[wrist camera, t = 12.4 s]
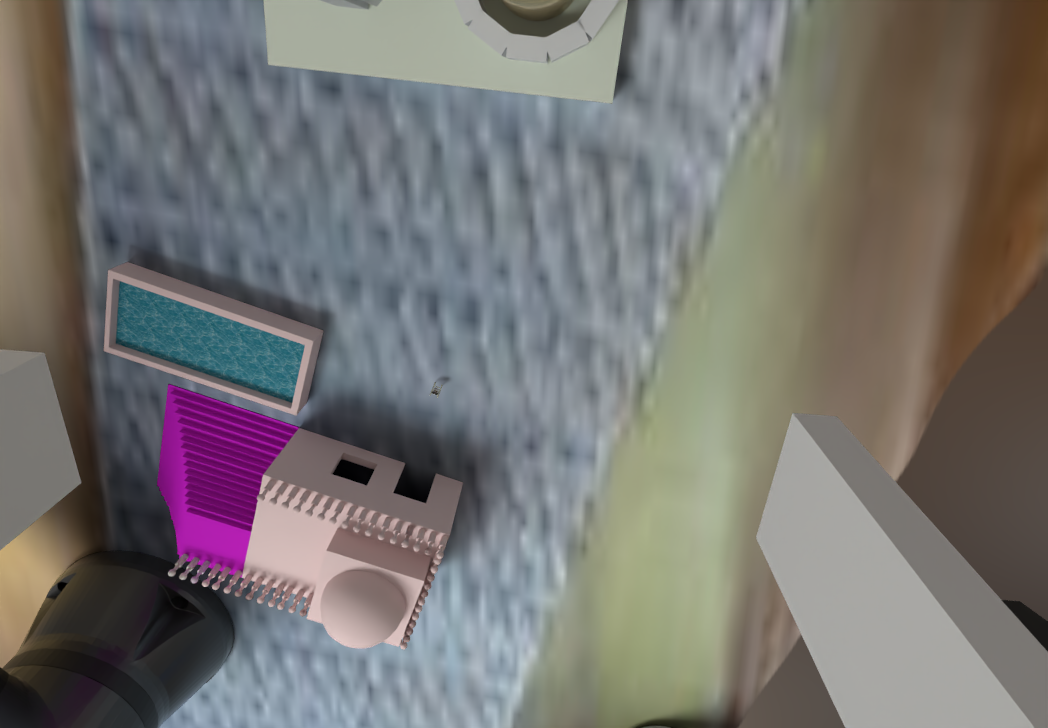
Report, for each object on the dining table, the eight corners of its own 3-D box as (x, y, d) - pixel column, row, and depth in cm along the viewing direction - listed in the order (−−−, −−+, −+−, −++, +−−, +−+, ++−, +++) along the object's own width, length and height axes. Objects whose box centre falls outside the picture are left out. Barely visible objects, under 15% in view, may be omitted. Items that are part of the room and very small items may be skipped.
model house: (499, 389, 41) (479, 486, 31) (429, 568, 48) (394, 692, 38) (131, 260, 38) (-17, 320, 28) (116, 468, 45) (-7, 574, 36)
